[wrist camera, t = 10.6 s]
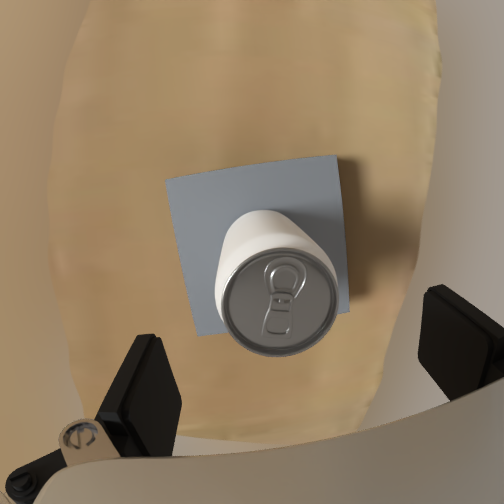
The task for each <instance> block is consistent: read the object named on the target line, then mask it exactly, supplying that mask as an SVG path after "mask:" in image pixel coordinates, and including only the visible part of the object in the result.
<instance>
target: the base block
mask: <svg viewBox="0 0 504 504" xmlns="http://www.w3.org/2000/svg"><path fill="white" fill-rule="evenodd" d="M165 182H166V188H167V194H168V200H169V205H170V211H171V216H172V222H173V227H174V232H175V237H176V242H177V247H178V252H179V257H180V262H181V267H182V271H183V276H184V280H185V285H186V289H187V294H188V298H189V302H190V307H191V311H192V315H193V319H194V323H195V327H196V331H197V335H198V336H204V335H212V334H220V333H228V330H227V328H226V326H225V324H224V322H223V321H222V319H221V317H220V315H219V313H218V310H217V306H216V301H215V282H216V276H217V270H218V265H219V260H220V256H221V251H222V247H223V242H224V239H225V236H226V233H227V231H228V230H229V228H230V227H231V225H232V224H233V223H234V222H235V221H236V220H237V219H238V218H240V217H241V216H243V215H244V214H246V213H249V212H252V211H257V210H272V211H276V212H279V213H281V214H283V215H284V216H286V217H287V218H289V219H290V220H291V221H292V222H293V223H295V224H296V225H297V226H298V227H299V228H300V229H301V230H302V231H304V232H305V233H306V234H307V235H308V236H309V237H310V238H311V239H312V240H313V241H314V242H315V243H316V244H317V245H318V246H319V247H320V248H321V249H322V250H323V251H324V252H325V253H326V255H327V256H328V258H329V259H330V261H331V263H332V265H333V267H334V269H335V272H336V276H337V282H338V291H339V308H338V312H337V314H342V313H347V312H350V311H349V286H348V268H347V252H346V239H345V227H344V216H343V206H342V197H341V188H340V179H339V171H338V164H337V156H336V155H328V156H318V157H308V158H300V159H291V160H283V161H275V162H268V163H260V164H253V165H247V166H240V167H233V168H227V169H221V170H215V171H209V172H203V173H198V174H192V175H187V176H182V177H176V178H171V179H166V180H165Z"/></svg>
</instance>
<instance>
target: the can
mask: <svg viewBox="0 0 504 504" xmlns="http://www.w3.org/2000/svg"><path fill="white" fill-rule="evenodd" d="M215 301H216V306H217V310H218V313H219V315H220V317H221V319H222V321H223V322H224V324H225V326H226V328H227V330H228V332H229V333H230V335H231V336H232V337H233V338H234V339H235V341H236V342H238V343H239V344H240V345H241V346H243V347H244V348H246V349H247V350H249V351H251V352H253V353H256V354H259V355H263V356H268V357H286V356H291V355H295V354H298V353H301V352H303V351H305V350H307V349H309V348H311V347H312V346H314V345H315V344H317V343H318V342H319V341H320V340H321V339H322V338H323V337H324V336H325V335H326V334H327V332H328V331H329V330H330V328H331V327H332V325H333V323H334V321H335V318H336V316H337V312H338V308H339V291H338V282H337V276H336V272H335V269H334V267H333V265H332V263H331V261H330V259H329V258H328V256H327V255H326V253H325V252H324V251H323V250H322V249H321V248H320V247H319V246H318V245H317V244H316V243H315V242H314V241H313V240H312V239H311V238H310V237H309V236H308V235H307V234H306V233H305V232H304V231H302V230H301V229H300V228H299V227H298V226H297V225H296V224H295V223H293V222H292V221H291V220H290V219H289V218H287V217H286V216H284V215H283V214H281V213H279V212H276V211H272V210H257V211H252V212H249V213H246V214H244V215H243V216H241V217H240V218H238V219H237V220H236V221H235V222H234V223H233V224H232V225H231V227H230V228H229V230H228V231H227V233H226V236H225V239H224V242H223V247H222V251H221V256H220V260H219V265H218V270H217V276H216V282H215Z"/></svg>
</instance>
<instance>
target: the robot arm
mask: <svg viewBox="0 0 504 504" xmlns="http://www.w3.org/2000/svg"><path fill="white" fill-rule="evenodd" d="M418 359H419V362H420V363H421V365H422V366H423V367H424V368H425V370H426V371H427V372H428V373H429V375H430V376H431V377H432V378H433V380H434V381H435V382H436V383H437V385H438V386H439V387H440V389H441V390H442V391H443V392H444V394H445V395H446V396H447V398H448V399H449V400H450V402H447V403H445V404H442V405H440V406H437V407H434V408H431V409H429V410H426V411H423V412H421V413H418V414H415V415H412V416H409V417H406V418H403V419H400V420H396V421H393V422H390V423H387V424H384V425H380V426H377V427H373V428H370V429H366V430H362V431H358V432H354V433H350V434H346V435H342V436H338V437H333V438H329V439H324V440H319V441H314V442H309V443H304V444H298V445H293V446H287V447H281V448H273V449H267V450H259V451H250V452H241V453H231V454H216V455H199V456H172V451H173V447H174V442H175V437H176V431H177V426H178V421H179V416H180V412H181V407H182V400H181V396H180V393H179V390H178V387H177V384H176V382H175V379H174V376H173V373H172V370H171V367H170V364H169V361H168V358H167V355H166V352H165V349H164V346H163V343H162V340H161V338H160V337H156V336H155V334H143V335H137V337H136V338H135V340H134V342H133V344H132V346H131V348H130V350H129V352H128V353H127V355H126V357H125V359H124V361H123V363H122V365H121V367H120V369H119V371H118V373H117V375H116V377H115V378H114V380H113V382H112V384H111V386H110V388H109V390H108V392H107V394H106V396H105V398H104V400H103V402H102V404H101V406H100V408H99V411H98V413H97V415H96V417H95V419H94V420H93V419H80V420H77V421H74V422H72V423H70V424H68V425H67V426H66V427H65V428H64V429H63V430H62V432H61V433H60V436H59V445H60V449H58V450H56V451H54V452H52V453H50V454H48V455H46V456H43V457H41V458H39V459H37V460H35V461H33V462H31V463H29V464H26V465H24V466H22V467H20V468H18V469H16V470H15V471H13V472H12V473H11V474H10V475H9V477H8V478H7V480H6V485H5V488H6V492H5V493H4V494H3V493H2V492H1V491H0V504H504V328H503V327H502V326H501V325H499V324H498V323H497V322H495V321H494V320H492V319H491V318H490V317H489V316H487V315H486V314H485V313H483V312H482V311H480V310H479V309H478V308H476V307H475V306H474V305H472V304H471V303H469V302H468V301H467V300H465V299H464V298H462V297H461V296H459V295H458V294H457V293H455V292H454V291H452V290H451V289H449V288H448V287H446V286H445V285H443V284H441V285H437V286H433V287H429V288H428V290H427V292H425V294H424V299H423V312H422V322H421V332H420V340H419V349H418Z"/></svg>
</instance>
